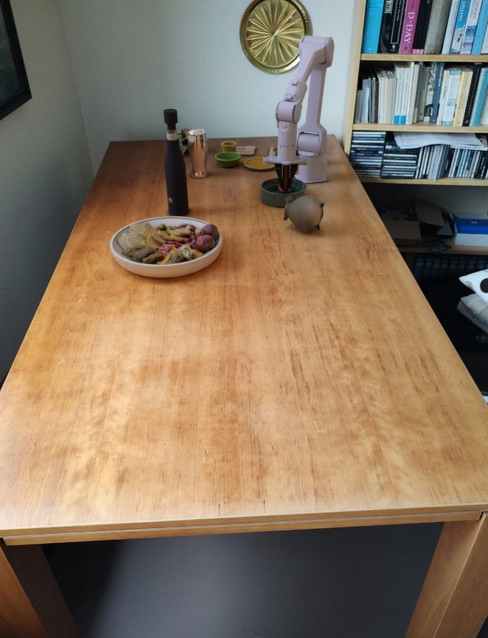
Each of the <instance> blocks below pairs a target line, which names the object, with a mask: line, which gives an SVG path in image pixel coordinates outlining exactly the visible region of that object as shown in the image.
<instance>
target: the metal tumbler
mask: <svg viewBox="0 0 488 638" xmlns="http://www.w3.org/2000/svg"><path fill="white" fill-rule="evenodd" d="M187 150H188V154H189V159H190V164H191V172H190V176H191V177H192V178H195V179H203V178H206V177H208V176H209V172H208V166H207V161H208V160H207V159H208V151H209V143H208V133H207V130H206V129H203V128H194V129H192V130H189V131H188V148H187Z"/></svg>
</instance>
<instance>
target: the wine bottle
mask: <svg viewBox="0 0 488 638" xmlns="http://www.w3.org/2000/svg"><path fill="white" fill-rule="evenodd" d="M163 123H164V124H165V125H166V128H167V129H166V130H167V131H166V139H165V140H166V152H165V157H164V165H163V166H164V168H163V169H164V178H165V187H166V188H165V189H166V199H167V206H168V214H169V215H170V216H179V217H185V216H187V215H188V214H189V213H190V207H189V206H190V204H189V191H188V178H187V165H186V161H185V158H184V154H183V155H182V149H181V147H180V144H179V138H178V131H177V124H178V123H179V118H178V109H176V108H166V109H163Z"/></svg>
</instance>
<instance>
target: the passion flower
mask: <svg viewBox="0 0 488 638" xmlns="http://www.w3.org/2000/svg"><path fill="white" fill-rule="evenodd" d="M189 130H193V129H191V128H188V127H184V128H181V129H180V130H178V131H177V133H178V138H179V144H180V149H181V152H182V155H183V156H184V154H185V152H186V151H187V150H188V131H189Z"/></svg>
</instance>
